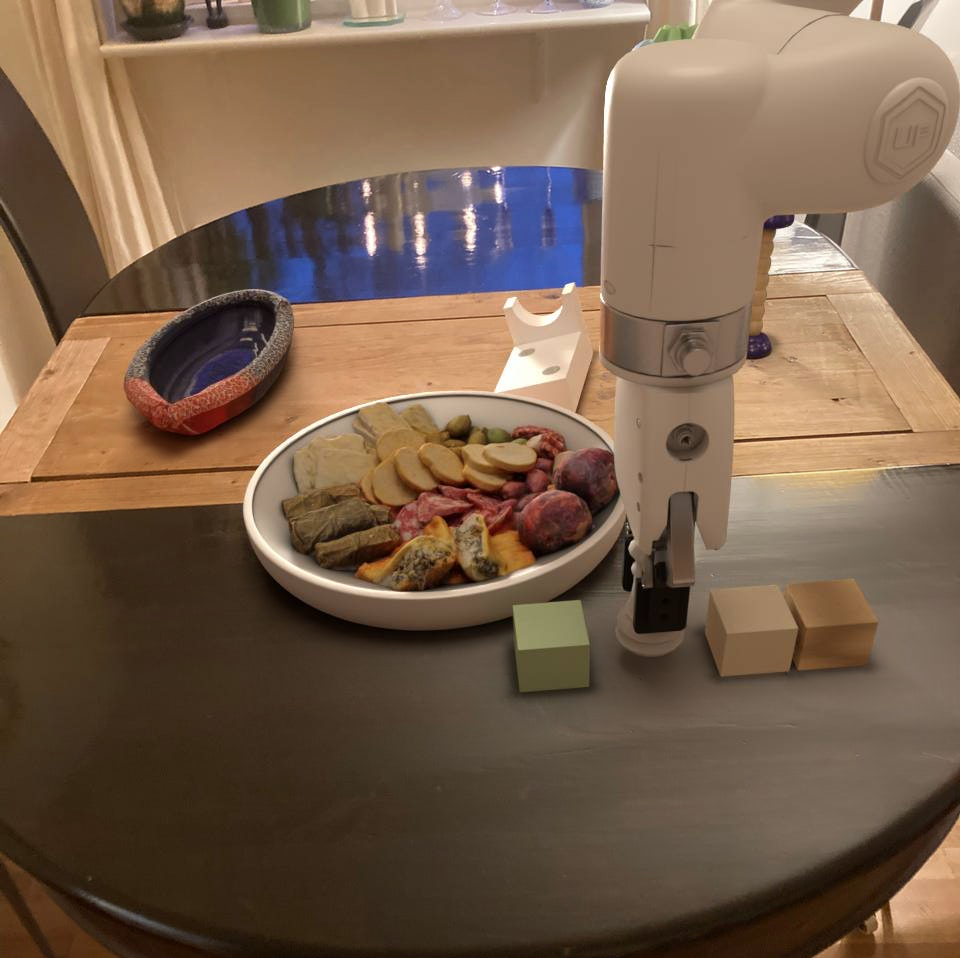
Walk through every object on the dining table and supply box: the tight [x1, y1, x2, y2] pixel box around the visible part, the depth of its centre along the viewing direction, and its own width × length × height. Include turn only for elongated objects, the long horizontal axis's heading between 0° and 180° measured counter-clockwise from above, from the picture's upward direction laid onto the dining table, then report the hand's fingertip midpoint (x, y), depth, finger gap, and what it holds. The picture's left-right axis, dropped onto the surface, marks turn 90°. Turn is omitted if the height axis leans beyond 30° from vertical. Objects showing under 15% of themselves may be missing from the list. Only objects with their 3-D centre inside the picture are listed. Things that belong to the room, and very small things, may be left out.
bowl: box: [242, 390, 626, 632], centre depth 75 cm, size 30×30×8 cm
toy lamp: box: [746, 214, 796, 359], centre depth 94 cm, size 5×5×17 cm
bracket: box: [493, 281, 594, 413], centre depth 93 cm, size 13×7×8 cm, turn 167°
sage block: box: [512, 599, 591, 693], centre depth 62 cm, size 4×4×4 cm
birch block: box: [783, 578, 879, 671], centre depth 62 cm, size 4×4×4 cm
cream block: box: [704, 584, 798, 677], centre depth 62 cm, size 4×4×4 cm
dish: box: [123, 288, 295, 436], centre depth 99 cm, size 16×31×5 cm, turn 172°
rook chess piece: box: [614, 531, 686, 658], centre depth 59 cm, size 4×4×8 cm
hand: (652, 605), depth 60 cm, fingers closed on rook chess piece, 3 cm apart
